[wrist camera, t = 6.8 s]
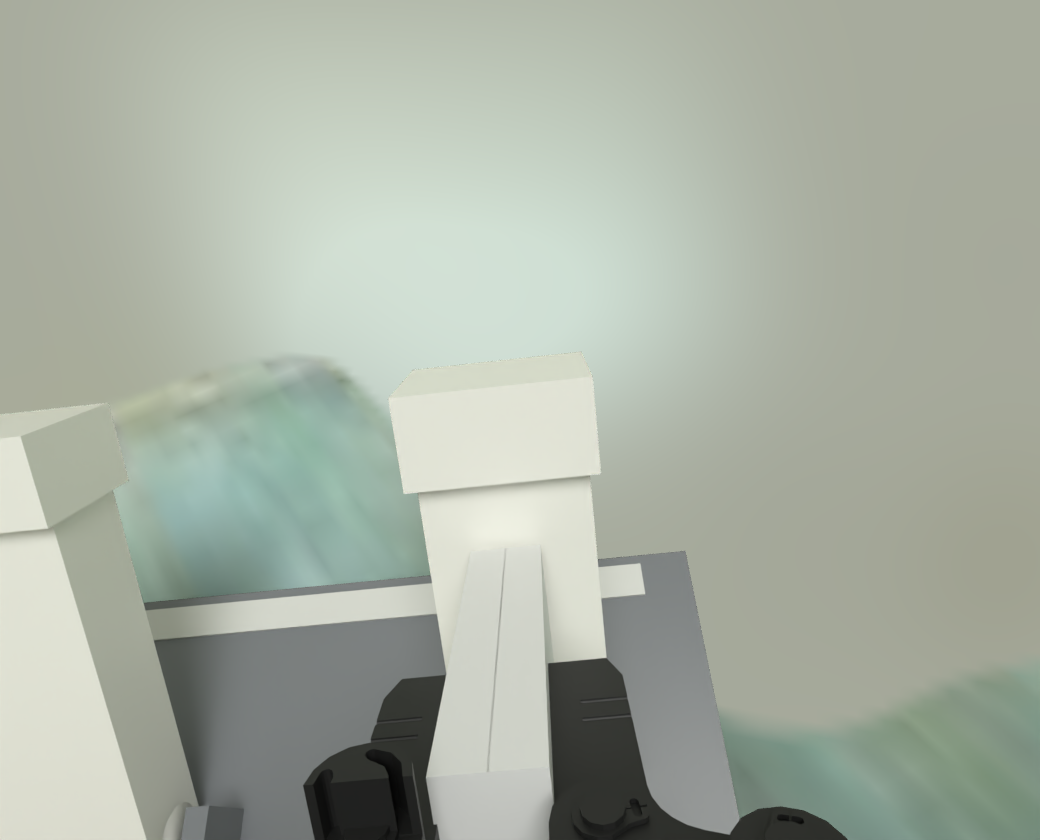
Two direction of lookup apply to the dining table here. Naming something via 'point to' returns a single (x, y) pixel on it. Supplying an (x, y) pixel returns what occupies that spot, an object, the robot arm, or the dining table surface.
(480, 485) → the lever
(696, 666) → the breaker panel
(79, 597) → the middle lever
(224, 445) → the dining table surface
